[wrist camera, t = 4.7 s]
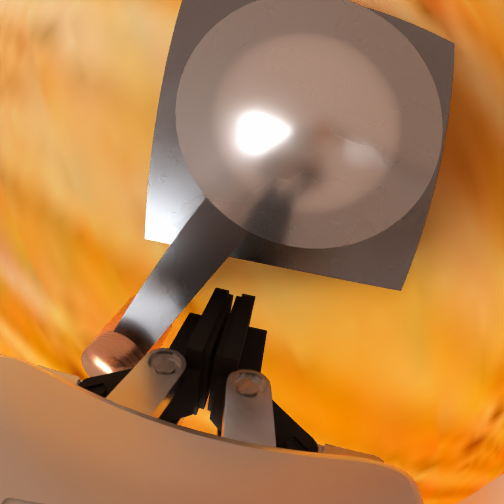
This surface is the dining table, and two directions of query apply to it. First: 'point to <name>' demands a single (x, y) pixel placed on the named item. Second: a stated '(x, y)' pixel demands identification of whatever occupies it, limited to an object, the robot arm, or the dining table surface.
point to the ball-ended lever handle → (286, 149)
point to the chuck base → (252, 246)
